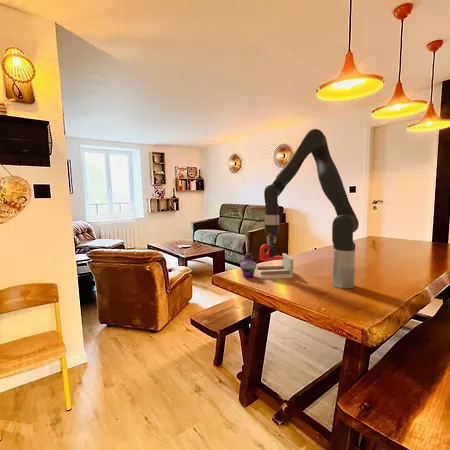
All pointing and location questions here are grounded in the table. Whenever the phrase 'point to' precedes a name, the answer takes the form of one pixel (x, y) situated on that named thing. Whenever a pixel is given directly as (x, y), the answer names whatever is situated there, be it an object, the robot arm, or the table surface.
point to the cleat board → (277, 269)
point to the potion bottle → (248, 266)
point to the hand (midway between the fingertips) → (271, 255)
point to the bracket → (267, 254)
